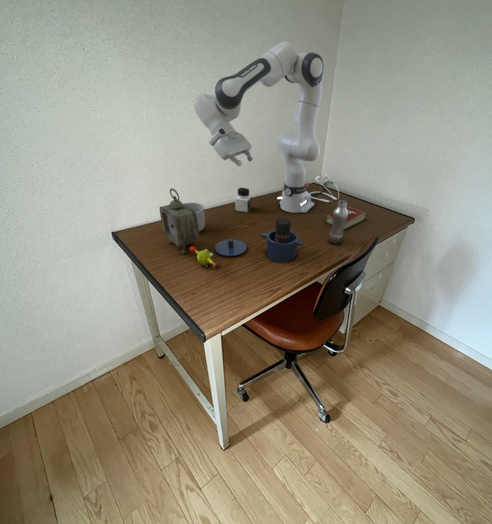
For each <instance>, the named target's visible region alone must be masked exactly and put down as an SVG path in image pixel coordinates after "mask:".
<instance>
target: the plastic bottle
mask: <svg viewBox="0 0 492 524" xmlns="http://www.w3.org/2000/svg"><path fill="white" fill-rule="evenodd" d="M347 207H348V201H346V200H343V199H340V200H339V201H338V202H337V207H336V208H335V209H334V210H333V212H332V213H333V224H332V225H331V228H330V232H329V234H328V242H330V243H331V244H337V245H338V244H341V243H342V242H343V239H344V231H345V230H344V225H345V221H346V219H347V216H348V211H347V209H346V208H347Z"/></svg>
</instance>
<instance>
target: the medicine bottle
mask: <svg viewBox="0 0 492 524" xmlns="http://www.w3.org/2000/svg"><path fill="white" fill-rule="evenodd" d="M234 201H235V202H234V203H235V205H234V206H235V211H236V212H240V213H241V212H242V213H249V212H250V211H251V209H252V207H253V206H252V205H253V204H252V202H253V201H252V195H250V189H249V188H248V187H244V186H241V187H238V189H237V196H236V197H235V199H234Z"/></svg>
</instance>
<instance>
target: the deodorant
mask: <svg viewBox="0 0 492 524" xmlns="http://www.w3.org/2000/svg"><path fill="white" fill-rule="evenodd" d="M291 225H292V220H291V219H289V218H287V217H278V218H276V219H275V230H276V231H275V242H277V243H289V238H290V231H291Z"/></svg>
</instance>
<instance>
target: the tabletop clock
mask: <svg viewBox="0 0 492 524" xmlns="http://www.w3.org/2000/svg"><path fill="white" fill-rule="evenodd" d="M172 191H173V192H174V193H175V194H176V195H173V194H172ZM169 194H170V196H171V198H172V199H173V200H171V201H170V202H169V204H167V205H162V206H159V215H160V221H161V225H162V229H163V233H164V236H166V238H167V239H168V240H169V243H170V244H173V245H175V246H176V247H181V246H182V250H181V254H182V255H185V254H186V253H187V251H186V249H185V248H186V246H190V244H191V243H194V242H197V240H198V239H199V238H200V232H199V228H198V221H197V216H196V213H195V212H194V210H192V209H191V208H190V207H188V206H187V205H185V204H183V202H182V201H181V200H180V195H179V193H178V191H177V190H176V189H175V188H170V189H169Z"/></svg>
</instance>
